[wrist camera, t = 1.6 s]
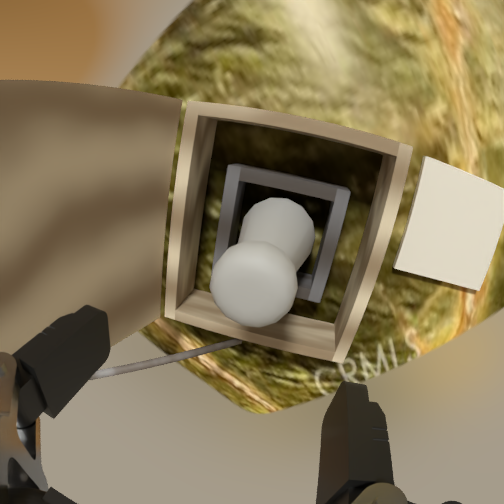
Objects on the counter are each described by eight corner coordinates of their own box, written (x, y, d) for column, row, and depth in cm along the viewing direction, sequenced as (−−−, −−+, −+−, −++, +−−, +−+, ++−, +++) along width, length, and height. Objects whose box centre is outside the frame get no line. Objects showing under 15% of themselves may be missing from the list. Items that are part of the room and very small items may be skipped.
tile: (423, 155, 22) (425, 156, 21) (508, 191, 20) (511, 192, 20) (392, 266, 25) (394, 268, 25) (476, 288, 24) (479, 291, 23)
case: (184, 105, 24) (75, 82, 11) (396, 146, 22) (478, 148, 9) (163, 297, 31) (84, 379, 18) (337, 343, 29) (338, 459, 16)
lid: (183, 99, 19) (171, 99, 20) (-63, 83, 5) (-64, 87, 5) (160, 317, 26) (151, 312, 26) (-2, 415, 11) (-9, 403, 12)
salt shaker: (328, 235, 26) (336, 314, 13) (274, 270, 28) (240, 363, 16) (287, 179, 25) (259, 209, 13) (234, 218, 27) (167, 278, 15)
